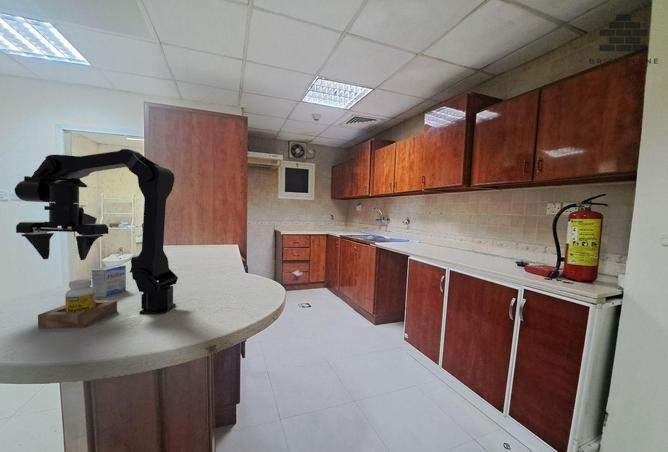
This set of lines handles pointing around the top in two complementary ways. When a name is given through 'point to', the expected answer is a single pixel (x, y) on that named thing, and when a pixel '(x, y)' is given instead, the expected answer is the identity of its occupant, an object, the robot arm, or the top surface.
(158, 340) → the top surface
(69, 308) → the supplement bottle
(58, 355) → the top surface
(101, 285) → the medicine box
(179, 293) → the top surface
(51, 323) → the socket block
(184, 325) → the top surface
